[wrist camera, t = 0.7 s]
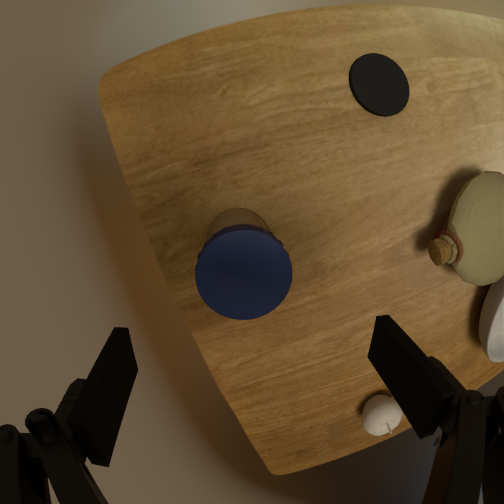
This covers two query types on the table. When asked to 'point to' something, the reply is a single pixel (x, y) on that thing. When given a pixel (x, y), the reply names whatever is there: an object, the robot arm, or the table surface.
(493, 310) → the serving bowl
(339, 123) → the table surface
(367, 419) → the apple
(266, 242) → the jar lid
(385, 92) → the coaster
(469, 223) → the flask
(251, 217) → the jar
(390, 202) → the table surface
